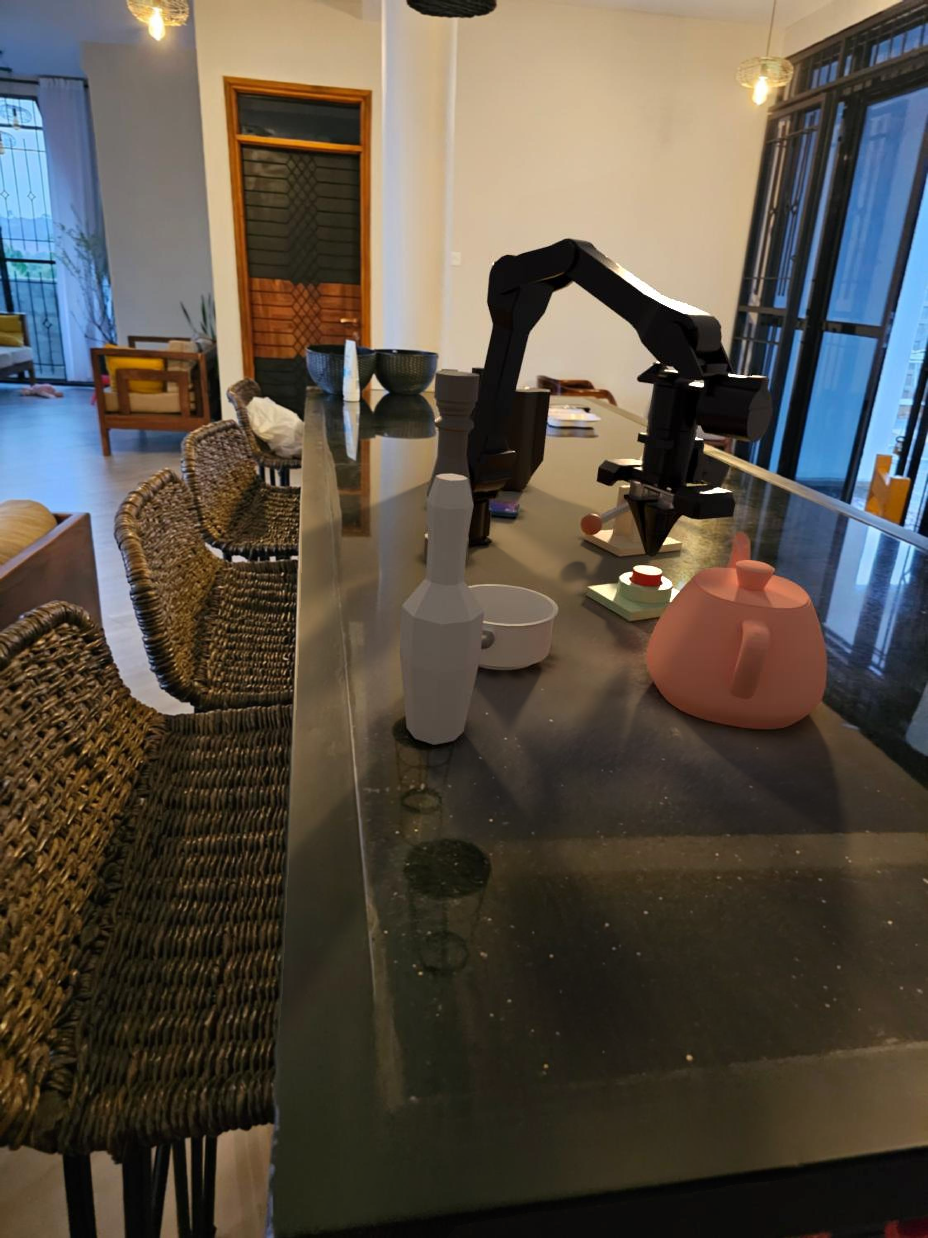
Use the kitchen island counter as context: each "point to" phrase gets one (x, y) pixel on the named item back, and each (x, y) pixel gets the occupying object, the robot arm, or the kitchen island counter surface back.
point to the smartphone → (504, 508)
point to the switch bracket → (626, 534)
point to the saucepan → (514, 626)
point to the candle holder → (453, 426)
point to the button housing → (634, 597)
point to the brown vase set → (523, 432)
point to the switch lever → (601, 519)
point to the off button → (646, 576)
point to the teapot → (740, 646)
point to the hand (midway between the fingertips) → (650, 555)
